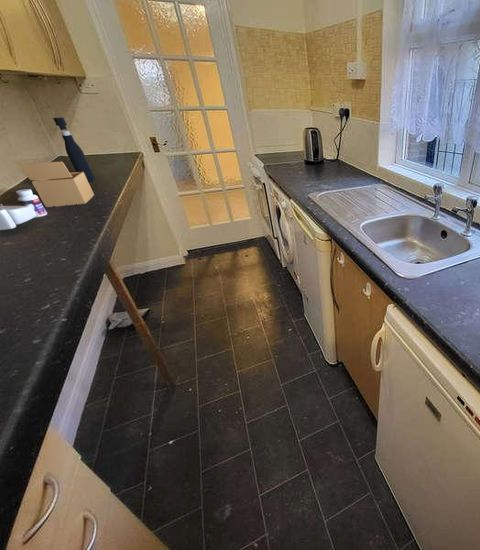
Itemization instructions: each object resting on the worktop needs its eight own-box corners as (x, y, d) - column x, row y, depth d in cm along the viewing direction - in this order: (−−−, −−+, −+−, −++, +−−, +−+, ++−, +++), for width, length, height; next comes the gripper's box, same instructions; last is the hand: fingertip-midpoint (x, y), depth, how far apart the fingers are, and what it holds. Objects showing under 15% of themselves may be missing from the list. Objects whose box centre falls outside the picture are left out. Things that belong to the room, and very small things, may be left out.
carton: (85, 203, 127) (73, 178, 121) (46, 207, 122) (31, 181, 116) (94, 195, 138) (83, 171, 132) (58, 198, 133) (45, 174, 127)
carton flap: (72, 176, 121) (72, 177, 121) (30, 179, 116) (30, 180, 116) (62, 161, 116) (62, 161, 116) (18, 163, 111) (17, 164, 111)
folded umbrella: (98, 180, 160) (69, 117, 144) (83, 182, 155) (51, 118, 139) (93, 178, 163) (64, 117, 147) (79, 180, 158) (47, 117, 142)
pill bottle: (45, 216, 113) (30, 191, 108) (26, 219, 111) (10, 193, 106) (49, 212, 117) (35, 187, 112) (31, 214, 115) (15, 189, 110)
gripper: (-51, 229, 96) (-9, 214, 108) (17, 228, 98) (52, 214, 109) (-66, 211, 93) (-20, 197, 104) (6, 210, 94) (42, 197, 106)
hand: (17, 206), depth 107 cm, fingers open, 8 cm apart
